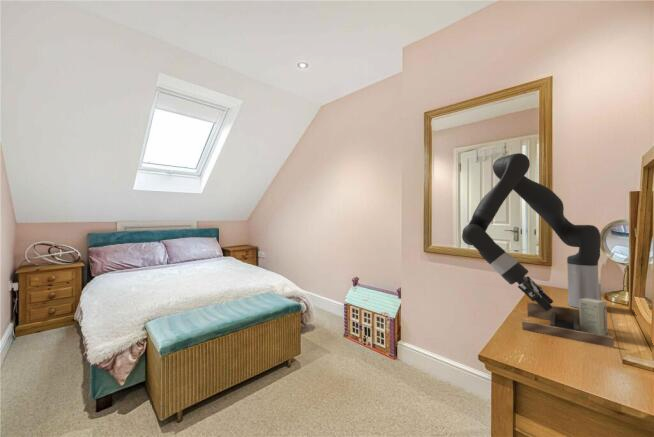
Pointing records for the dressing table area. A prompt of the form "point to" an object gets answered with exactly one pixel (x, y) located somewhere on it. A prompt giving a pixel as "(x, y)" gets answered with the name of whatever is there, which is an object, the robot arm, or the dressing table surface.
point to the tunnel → (563, 324)
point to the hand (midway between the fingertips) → (550, 306)
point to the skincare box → (593, 316)
